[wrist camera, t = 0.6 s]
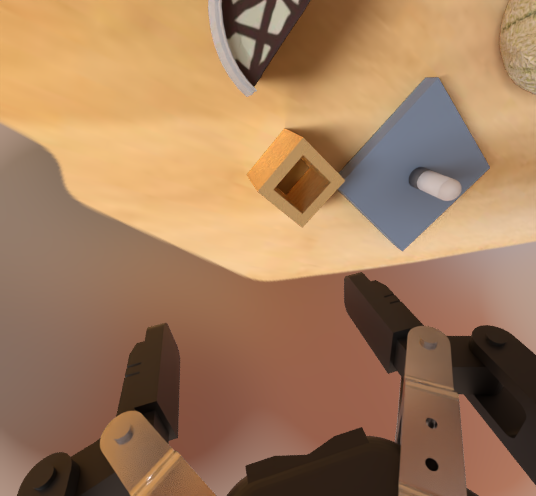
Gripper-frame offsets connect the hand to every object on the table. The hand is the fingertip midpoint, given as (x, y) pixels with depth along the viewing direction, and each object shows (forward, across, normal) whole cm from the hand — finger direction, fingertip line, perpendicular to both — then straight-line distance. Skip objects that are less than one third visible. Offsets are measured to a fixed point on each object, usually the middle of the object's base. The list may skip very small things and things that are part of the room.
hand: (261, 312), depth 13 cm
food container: (+23, -5, -14) cm, 28 cm away
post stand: (+23, -24, +5) cm, 33 cm away
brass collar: (+23, -8, +1) cm, 24 cm away
